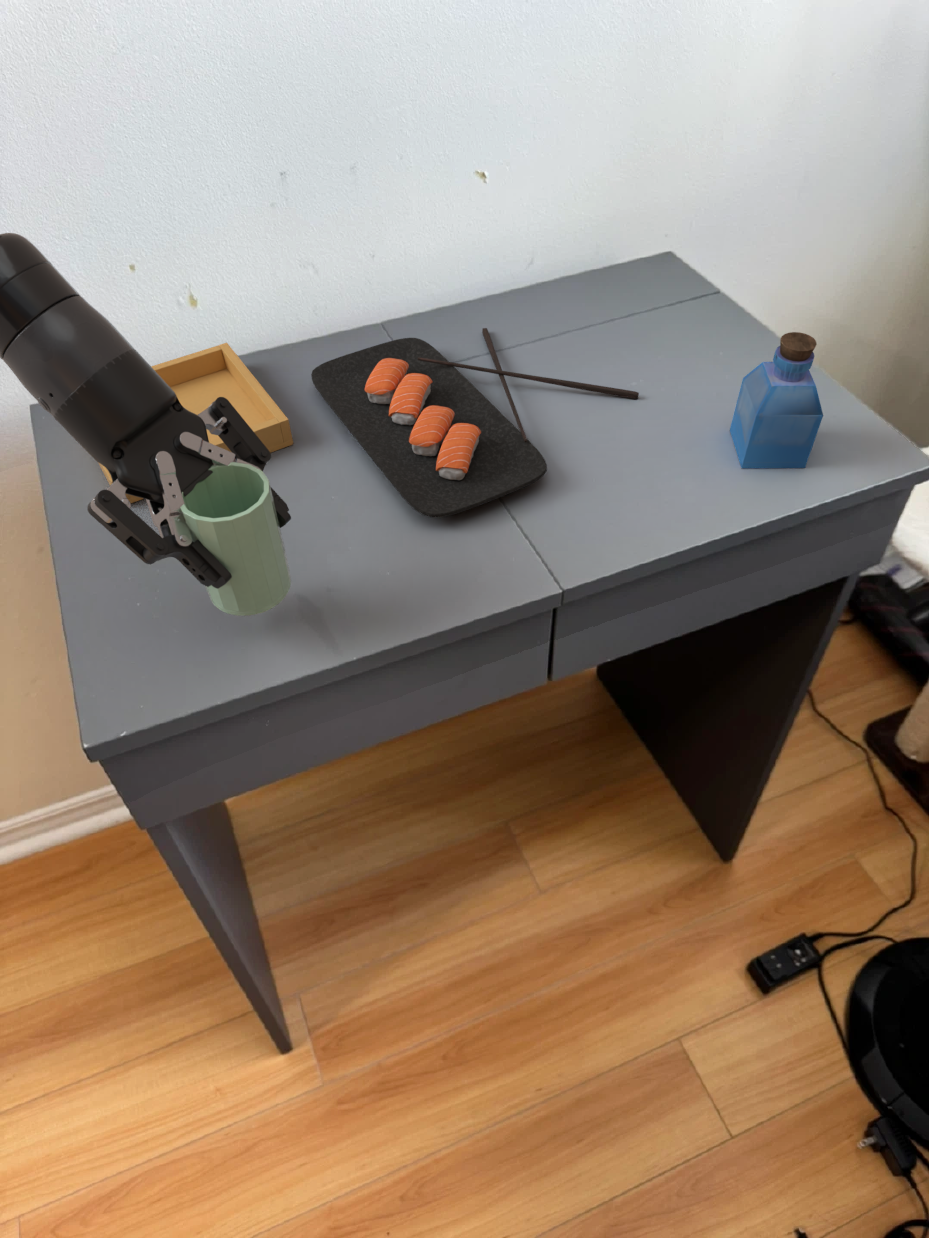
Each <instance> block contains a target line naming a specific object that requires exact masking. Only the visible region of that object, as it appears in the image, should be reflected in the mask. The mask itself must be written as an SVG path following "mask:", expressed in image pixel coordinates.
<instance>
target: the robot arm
mask: <svg viewBox="0 0 929 1238" xmlns="http://www.w3.org/2000/svg"><path fill="white" fill-rule="evenodd" d="M0 359H1V360H3V362H4V363H5V364H6V365H7V367H8V368H9V369H10V370H11V372H12V373H13V374H14V375H15V377H16V378H17V380H18V381H19V382H20V383H21V385H22V386H23V387H24V388H25V390H26V391H27V392H28V393H29V394H30V395H31V396H32V397H33V398H34V399H35V400H36V401H37V403H38V404H39V406H40V407H41V408H42V409H43V410H45V412H48V413H49V414H50V416H52V418H53V419H54V420H55V421H56V422H57V423H58V424H60V426H61V427H62V428H63V429H64V430H65V431H66V432H67V433H68V434H69V435H70V436H71V437H72V438H73V439H74V440H75V441H76V442H77V443H78V444H79V445H80V446H81V447H82V448H83V449H84V450H85V452H87V453H88V454H89V455H90V456H91V457H92V458H93V459H94V460H95V461H96V462H97V463H98V462H99V463H100V464H102V465H103V466H104V467H105V468H106V469H107V470H108V471H109V473H110V475H111V478H112V481H113V483H112V484H111V485H110V484H109V486H108V487H107V488H106V489H101V490H100V491H99V492H97V494H96V495H95V496H94V497H93V498H92V500H90V502H89V503H88V504H87V506H86V507H87V512H88V513H89V515H90V516H91V517H92V518H94V519H95V520H96V521H97V522H98V523H99V524H100V525H102V526H103V527H104V528H105V529H106V530H107V531H108V532H109V533H110V534H112V535H113V536H114V537H115V538H116V539H117V540H118V541H120V542H121V543H122V544H123V545H124V546H125V547H126V548H127V549H128V550H129V551H131V552H132V553H133V554H134V555H135V556H137V557H138V558H139V560H141V561H142V562H143V563H145V564H146V565H153V564H155V563H156V562H159V561H161V560H164V559H166V558H174V559H175V560H177V561H178V562H179V563H180V564H181V565H182V566H183V567H184V568H185V569H186V570H187V571H188V572H189V573H190V574H191V575H192V576H193V577H194V578H195V579H196V580H197V581H198V582H199V583H200V584H201V585H203V586H204V587H205V586H207V587H209V586H211V585H212V586H213V587H214V588H217V589H218V588H220V587H222V586H223V585H225V584H226V583H227V582H228V581H229V580H230V579H231V578H232V575H231V573H230V572H229V571H228V570H227V569H226V568H225V567H224V566H223V565H222V564H221V563H220V562H219V561H218V560H217V559H216V558H215V557H214V556H213V555H212V554H211V552H210V551H209V550H208V549H207V548H206V547H205V546H203V544H202V543H201V542H200V541H199V540H198V539H197V540H196V541H195V542H193V541H192V536H191V532H190V529H189V527H188V525H187V524H186V522H185V519H184V517H183V515H182V511H181V509H180V507H181V506H182V505H183V504H185V503H184V500H183V496H182V492H183V494H184V497H185V496H187V495H188V494H189V493H190V492H191V491H192V490H193V489H194V487H195V485H196V484H198V483H200V482H202V481H204V480H205V479H206V478H207V477H208V476H210V475H211V474H212V473H213V471H212V470H208V469H209V468H211V466H212V465H214V464H216V465H225V466H228V465H229V464H230V463H231V462H236V463H243V464H249V465H252V466H254V467H255V468H257V469H259V470H261V471H263V472H264V470H265V467H266V465H267V463H268V462H269V461H270V460H271V458H272V452H271V453H270V451H269V450H268V449H267V448H266V446H265V445H264V444H263V443H262V441H261V440H260V439H259V438H258V436H257V435H256V434H255V433H254V432H253V430H252V429H251V428H250V427H249V425H248V424H247V423H246V422H245V420H244V419H243V418H242V417H241V416H240V414H239V413H238V412H237V411H236V409H235V408H234V407H233V406H232V404H231V403H230V402H229V401H228V400H227V399H226V398H224V397H218V398H217V399H216V400H215V401H214V402H213V403H212V404H211V405H210V406H209V407H208V408H207V409H205V410H204V411H202V412H201V413H200V414H198V415H196V414H194V413H192V412H190V411H188V410H187V409H185V408H184V407H183V406H182V405H181V403H180V402H179V400H178V398H177V396H176V394H175V392H174V391H173V390H172V389H171V388H170V387H169V386H168V385H167V383H166V382H165V381H164V380H163V379H162V378H161V377H160V376H159V375H158V374H157V373H156V371H155V370H154V369H153V368H152V367H151V366H152V365H150V363H148V362H147V360H145V358H144V357H143V356H142V355H141V354H140V353H139V352H138V351H137V349H135V347H134V346H133V345H132V344H131V342H129V341H128V340H127V339H126V338H125V337H124V335H123V334H122V333H121V332H120V331H119V330H118V329H117V327H116V326H115V325H114V324H113V323H112V322H111V321H110V320H109V319H107V318H106V316H104V315H103V314H102V313H101V312H100V311H98V309H96V308H95V307H94V306H92V305H91V303H89V302H88V301H87V300H86V299H85V298H84V297H83V296H82V295H81V294H80V293H79V292H78V290H76V288H74V286H73V285H71V283H70V282H69V281H68V280H67V279H66V277H64V276H63V275H62V274H61V272H60V271H59V270H58V269H57V268H56V267H55V266H54V265H53V264H52V262H51V261H50V260H49V259H48V257H46V256H45V254H43V252H42V251H40V249H39V248H38V247H37V246H36V245H34V243H32V241H30V240H29V239H28V238H26V237H25V236H24V235H21V234H19V233H16V232H3V233H0ZM206 429H207V430H209V432H210V433H211V434H214V435H218V436H219V437H220V438H221V440H222V441H223V442H224V443H225V445H226V446H227V447H228V448H229V449H230V451H231V452H230V451H227V450H225V449H223V448H220V447H218V446H216V445H213V444H211V443H209V440H208V435H207V430H206ZM99 463H98V464H99ZM213 463H214V464H213ZM270 487H271V491H272V496H273V500H274V504H275V509H276V513H277V517H278V522H279V526H280V529H281V528H283V527H284V526H286V525H287V524H288V523H289V522H290V521H291V520H292V516H291V514H290V513H289V511H290V508H289V507H288V504H287V503H286V502H285V501H284V499H283V498H282V497H281V496H280V494H278V493H277V492H276V491H275V489H273V487H272V486H271V485H270ZM126 494H129V495H132V496H136V497H140V498H143V499H142V500H145V502H146V504H147V507H148V510H149V514H150V517H151V520H152V521H151V522H152V523H153V525H154V527H156V528H157V530H158V532H156V530H154V529H153V528H152V527H151V526H150V525H149V524H148V523H146V522H145V521H144V520H143V518H141V517H140V516H139V515H138V514H137V513H135V511H133V510H132V509H131V508H132V503H130V501H129V500H128V499H127V497H126Z"/></svg>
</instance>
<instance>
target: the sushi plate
mask: <svg viewBox="0 0 929 1238" xmlns="http://www.w3.org/2000/svg"><path fill="white" fill-rule="evenodd" d="M481 331H482V332H481V333H482V335H483V338H484V341H485V344H486V346H487V349H488V352H489V354H490V357H491V359H492V362H493V364H494V367H495V368H488V367H483V366H482V367H481V366H476V365H469V364H463V363H457V362H451V361H449V360H448V359H447V358H446V357H445V356H444V355H443V354H441V352H440V351H438V350H437V349H436V348H435V347H434V346H432V345H431V344H430V343H429V342H427V341H425V340H423V339H421V338H417V337H403V338H398V339H393V340H390V341H386V342H382V343H378V344H376V345H373V346H370V347H367V348H363V349H360V350H357V351H353V352H351V353H347V354H345V355H342V356H338V357H336V358H333V359H331V360H330V359H329V360H328V361H325V362H323V363H321V364H319V365H317V366H316V367H315V368H314V369H312V371H311V374H310V376H311V381H312V383H313V386H314V387H315V389H316V390H317V392H318V393H319V395H320V396H321V397H322V398H323V400H324V401H325V402H326V404H327V405H328V406H329V407H330V409H331V410H332V411H333V412H334V413H335V415H336V416H337V418H338V419H339V420H340V421H341V423H342V424H343V425H344V426H345V428H346V429H347V430H348V431H349V432H350V434H351V435H352V436H353V437H354V439H355V440H356V441H357V443H358V444H359V445H360V446H361V447H362V449H363V450H364V451H365V453H366V454H367V455H368V456H369V457H370V459H371V460H372V462H374V464H375V465H376V466H377V467H378V469H379V470H380V471H381V472H382V474H383V475H384V476H385V477H386V479H387V480H388V481H389V482H390V484H391V485H392V486H393V488H395V490H396V491H397V492H398V493H399V495H400V496H401V497H402V499H404V501H406V503H408V504H409V505H410V507H411V508H412V509H414V510H415V511H417V512H418V513H419V514H421V515H422V516H425V517H429V518H445V517H449V516H454V515H456V514H457V515H458V514H460V513H464V512H465V511H469V510H471V509H474V508H476V507H480V506H482V505H485V504H487V503H489V502H492V501H494V500H497V499H499V498H502V497H505V496H507V495H510V494H512V493H515V492H516V491H519V490H521V489H524V488H526V487H528V486H529V485H532V484H533V483H535V482H537V481H538V480H540V479H541V478H542V477H544V475H545V474H546V473H547V471H548V465H547V462H546V460H545V457H544V456H543V455H542V453H541V452H540V451H539V449H538V448H537V447H536V446H535V445H534V444H533V443H532V442H531V441H530V440H529V439H528V438H527V435H526V432H525V430H524V427H523V425H522V422H521V418H520V415H519V413H518V411H517V408H516V405H515V403H514V400H513V397H512V394H511V392H510V389H509V386H508V384H507V380H506V378H505V376H507V377H511V378H512V377H513V378H517V379H522V380H529V381H534V382H540V383H545V384H550V385H555V386H560V387H565V388H571V389H575V390H581V391H582V390H583V391H587V392H592V393H593V392H594V393H599V394H604V395H610V396H615V397H621V398H626V399H632V400H638V399H639V395H640V392H638V391H634V390H629V389H622V388H616V387H610V386H604V385H599V384H592V383H585V382H578V381H572V380H565V379H558V378H551V377H546V376H540V375H532V374H526V373H519V372H513V371H508V370H507V371H506V370H503V369H502V366H501V363H500V360H499V357H498V354H497V352H496V348H495V346H494V343H493V340H492V337H491V335H490V332H489V330H488V328H487V327H482V330H481ZM457 368H461V369H467V370H473V371H479V372H484V373H489V374H495V375H498V377H499V380H500V382H501V385H502V387H503V390H504V392H505V394H506V395H505V396H506V398H507V401H508V403H509V406H510V408H511V411H512V413H513V416H514V418H515V421H516V424H517V426H518V428H517V427H516V426H515V425H514V424H513V423H512V422H511V421H510V420H509V419H508V418H507V417H506V416H505V415H503V413H502V412H500V410H499V409H498V408H497V407H496V406H494V404H493V403H492V402H491V401H490V400H489V399H487V397H486V396H484V394H482V393H481V392H480V391H479V389H477V388H476V387H475V386H474V385H473V383H471V382H470V381H469V380H468V379H467V378H466V377H465V376H464V375H463V374H462V373H461V371H459V370H458V369H457Z"/></svg>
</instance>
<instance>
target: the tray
mask: <svg viewBox="0 0 929 1238" xmlns="http://www.w3.org/2000/svg"><path fill="white" fill-rule="evenodd" d="M150 366H151V367H152V368H153V369H154V370H155V371H156V373H157V374H158V375H159V376H160V377H161V378H162V379H163V380H164V381H165V382H166V383H167V385H168V386H169V387H170V388H171V389H172V390H173V391H174V392H175V394H176V396H177V398H178V400H179V402H180V403H181V405H182V406H183V407H184V408H185V409H187V410H188V411H190V412H192V413H194V414H196V415H198V414H200V413H201V412H202V411H204V410H205V409H207V408H208V407H209V406H210V405H211V404H212V403H213V402H214V401H215V400H216V399H217V398H218V397H224V398H226V399H227V400H228V401H229V402H230V403H231V404H232V406H233V407H234V408H235V409H236V411H237V412H238V413H239V414H240V416H241V417H242V418H243V419H244V420H245V422H246V423H247V424H248V425H249V427H250V428H251V429H252V430H253V432H254V433H255V434H256V435H257V436H258V438H259V439H260V440H261V441H262V443H263V444H264V445H265V446H266V448H267V449H268V450H269V451H270V453H271V454H272V453H273V452H277V451H279V450H282V449H284V448H287V447H290V446H292V445H294V439H293V435H292V430H291V425H290V421H289V418H288V417H287V416H286V415H285V413H284V412H283V411H282V409H280V407H279V406H278V405H277V403H276V402H275V400H274V399H273V398H272V397H271V396H270V395H269V393H268V392H267V390H265V387H263V386H262V384H261V383H260V382H259V381H258V380H257V378H256V377H255V376H254V374H252V372H251V371H250V370H249V368H248V367H247V366H246V365H245V363H244V362H243V360H242V359H241V358H240V357H239V356H238V355H237V353H236V352H235V351H234V350H233V348H232V347H231V345H230V344H229V343H228V342H223V343H221V344H218V345H215V346H212V347H208V348H205V349H201V350H199V351H196V352H193V353H189V354H185V355H183V356H179V357H177V358H174V359H170V360H167V361H164V362H160V363H157V364H154V365H150ZM206 430H207V429H206ZM207 435H208V440H209V443H211V444H213V445H216V446H218V447H220V448H223V449H225V450H227V451H230V449H229V448H228V447H227V446H226V445H225V443H224V442H223V441H222V440H221V438H220V437H219V436H218V435H214V434H211V433H210V432H209V430H207ZM230 452H231V451H230ZM97 463H98V466H99V467H100V469H101V471H102V473H103V475H104V477H105V479H106V480H107V482H108V484H109V486H110V485H111V484H112V483H113V481H112V478H111V475H110V473H109V471H108V470H107V469H106V468H105V467H104V466H103V465H102V464H100V463H99V462H97ZM213 464H214V463H213ZM126 497H127V499H128V500H129V501H130V503H131V504H134V503H136V502H139V501H142V500H144V499H143V498H140V497H136V496H132V495H129V494H126Z"/></svg>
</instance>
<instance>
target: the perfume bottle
mask: <svg viewBox="0 0 929 1238" xmlns="http://www.w3.org/2000/svg"><path fill="white" fill-rule="evenodd" d="M816 347H817V340H816V339H815V337H813V336H812V335H809V334H807V333H804V332H799V331H792V332H791V331H789V332H785V333H784V334H783V335H781V337H780V343H779V346H777V347H776V349H775V351H774V354H773V358H772V361H761V363H759V364H758V365H756V367H754V368H753V369H752V370H751V371H750V372H748V373H747V374H746V375H745V376H743V377H742V380H741V384H740V388H739V392H738V396H737V398H736V399H737V400H736V404H735V408H734V411H733V415H732V420H731V424H730V427H729V433H730V436H731V439H732V442H733V447H734V449H735V452H736V456H737V459H738V462H739V465H740V468H741V469H806V466H807V464H808V461H809V459H810V458H809V457H810V455H811V452H812V449H813V447H814V443H815V441H816V438H817V434H818V432H819V429H820V426H821V423H822V421H823V417H824V412H823V409H822V403H821V400H820V398H819V397H820V396H819V392H818V388H817V385H816V383H815V380H814V378H813V376H812V373H811V371H810V369H811V368H812V366H813V364H814V359H815V353H814V350H815V348H816Z"/></svg>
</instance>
